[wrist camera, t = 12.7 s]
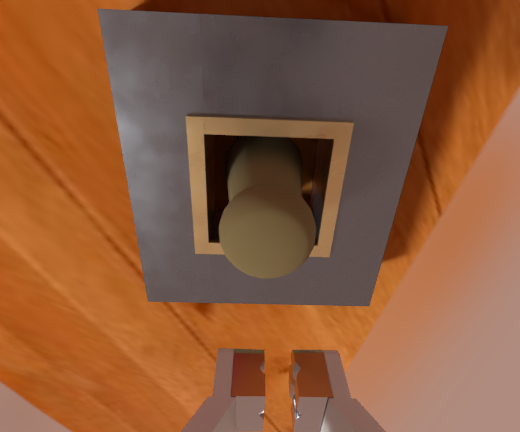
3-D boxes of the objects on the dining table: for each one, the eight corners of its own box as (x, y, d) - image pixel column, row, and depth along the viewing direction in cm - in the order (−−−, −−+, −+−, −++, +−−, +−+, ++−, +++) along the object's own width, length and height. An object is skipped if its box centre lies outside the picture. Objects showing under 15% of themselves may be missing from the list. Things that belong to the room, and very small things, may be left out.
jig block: (127, 11, 21) (95, 8, 16) (412, 25, 21) (451, 26, 17) (161, 266, 31) (146, 304, 26) (354, 270, 31) (370, 308, 27)
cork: (317, 151, 25) (354, 228, 16) (278, 213, 28) (290, 310, 18) (246, 114, 24) (240, 174, 14) (212, 182, 26) (188, 271, 17)
